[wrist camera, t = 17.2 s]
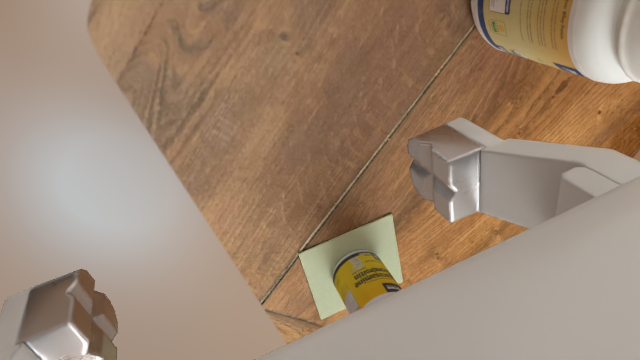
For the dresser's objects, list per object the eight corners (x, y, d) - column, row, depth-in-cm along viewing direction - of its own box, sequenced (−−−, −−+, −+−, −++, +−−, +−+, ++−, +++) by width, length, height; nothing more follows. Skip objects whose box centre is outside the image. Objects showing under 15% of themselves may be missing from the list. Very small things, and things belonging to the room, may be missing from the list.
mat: (320, 318, 55) (321, 319, 55) (298, 253, 48) (298, 254, 48) (402, 281, 57) (402, 282, 57) (391, 213, 51) (392, 214, 50)
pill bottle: (386, 251, 53) (440, 320, 44) (363, 291, 55) (409, 365, 46) (344, 243, 50) (391, 316, 40) (321, 286, 52) (361, 364, 43)
